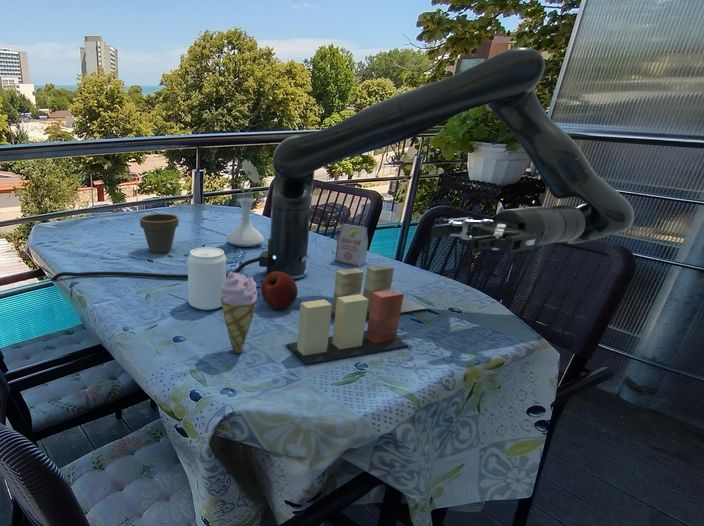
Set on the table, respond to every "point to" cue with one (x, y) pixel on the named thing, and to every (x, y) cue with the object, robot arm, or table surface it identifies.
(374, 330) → the orange rectangular block
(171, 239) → the flower pot
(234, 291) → the ice cream cone
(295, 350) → the front word
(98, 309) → the table surface
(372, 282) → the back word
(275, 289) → the apple
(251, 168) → the flower in vase
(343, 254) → the white tea box
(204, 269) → the beverage can
